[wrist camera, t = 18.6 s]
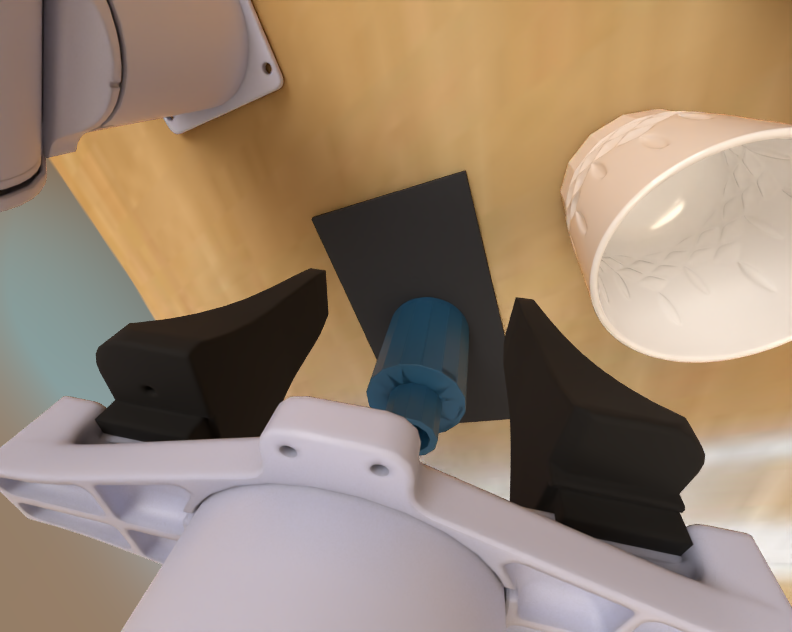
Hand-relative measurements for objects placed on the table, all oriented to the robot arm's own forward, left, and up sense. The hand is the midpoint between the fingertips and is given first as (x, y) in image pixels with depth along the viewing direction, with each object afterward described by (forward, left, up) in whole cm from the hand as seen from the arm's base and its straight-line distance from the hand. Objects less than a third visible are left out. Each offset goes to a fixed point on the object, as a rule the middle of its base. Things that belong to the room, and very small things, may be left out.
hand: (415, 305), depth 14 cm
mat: (+8, -3, -10) cm, 13 cm away
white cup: (+1, +10, -11) cm, 15 cm away
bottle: (+8, -3, -10) cm, 13 cm away
